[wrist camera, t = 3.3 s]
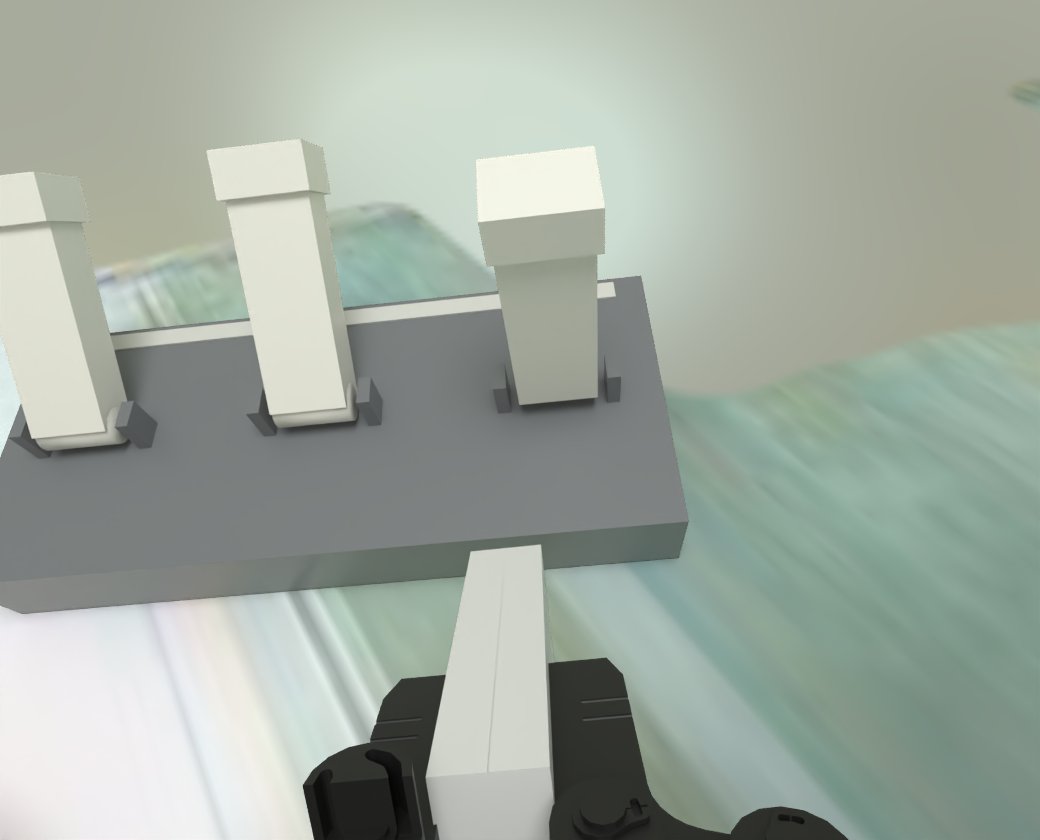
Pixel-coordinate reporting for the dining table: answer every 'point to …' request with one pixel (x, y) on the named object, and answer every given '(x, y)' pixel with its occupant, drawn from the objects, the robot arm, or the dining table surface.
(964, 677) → the dining table surface
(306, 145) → the middle lever
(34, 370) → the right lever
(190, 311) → the dining table surface
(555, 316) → the lever
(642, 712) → the dining table surface
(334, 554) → the breaker panel
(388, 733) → the robot arm
